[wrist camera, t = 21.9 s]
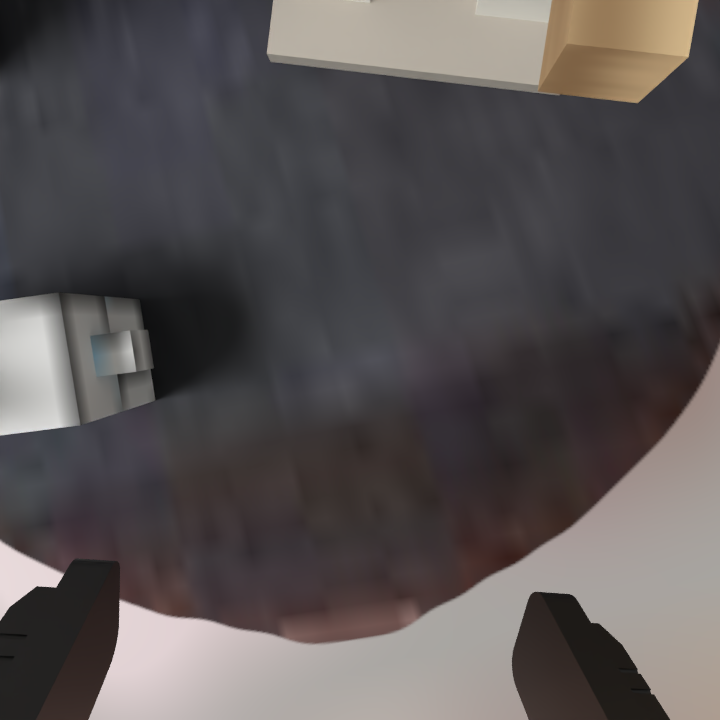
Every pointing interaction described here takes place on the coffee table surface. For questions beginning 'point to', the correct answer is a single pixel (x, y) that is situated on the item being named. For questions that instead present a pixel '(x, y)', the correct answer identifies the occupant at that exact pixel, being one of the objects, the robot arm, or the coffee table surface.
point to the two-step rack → (416, 39)
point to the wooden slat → (614, 46)
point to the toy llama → (71, 360)
